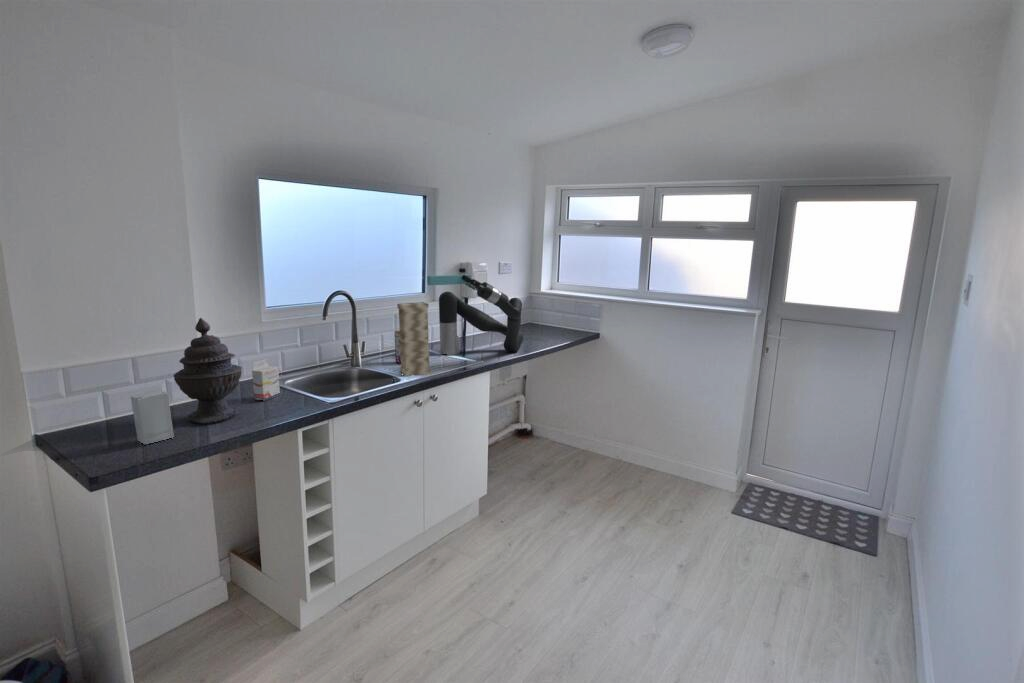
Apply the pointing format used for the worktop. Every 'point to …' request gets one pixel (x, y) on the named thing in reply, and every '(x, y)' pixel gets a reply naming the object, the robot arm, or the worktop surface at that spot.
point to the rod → (446, 280)
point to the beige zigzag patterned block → (414, 338)
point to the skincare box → (152, 416)
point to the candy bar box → (397, 346)
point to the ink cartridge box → (265, 379)
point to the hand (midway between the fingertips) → (460, 276)
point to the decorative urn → (208, 376)
